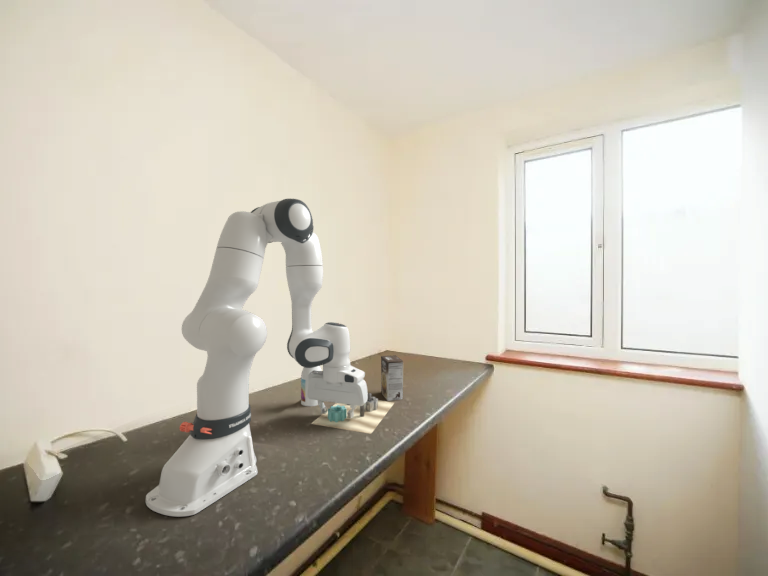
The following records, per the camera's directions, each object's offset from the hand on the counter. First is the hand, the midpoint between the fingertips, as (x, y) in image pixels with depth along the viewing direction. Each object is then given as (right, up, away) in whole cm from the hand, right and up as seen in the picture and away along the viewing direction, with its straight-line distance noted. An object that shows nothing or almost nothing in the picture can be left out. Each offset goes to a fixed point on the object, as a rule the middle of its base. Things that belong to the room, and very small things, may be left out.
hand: (337, 415), depth 97 cm
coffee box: (+18, -2, +19) cm, 26 cm away
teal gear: (0, -1, 0) cm, 1 cm away
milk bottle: (-11, -2, +13) cm, 17 cm away
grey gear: (+10, -1, +8) cm, 13 cm away
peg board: (+6, -2, +4) cm, 7 cm away
